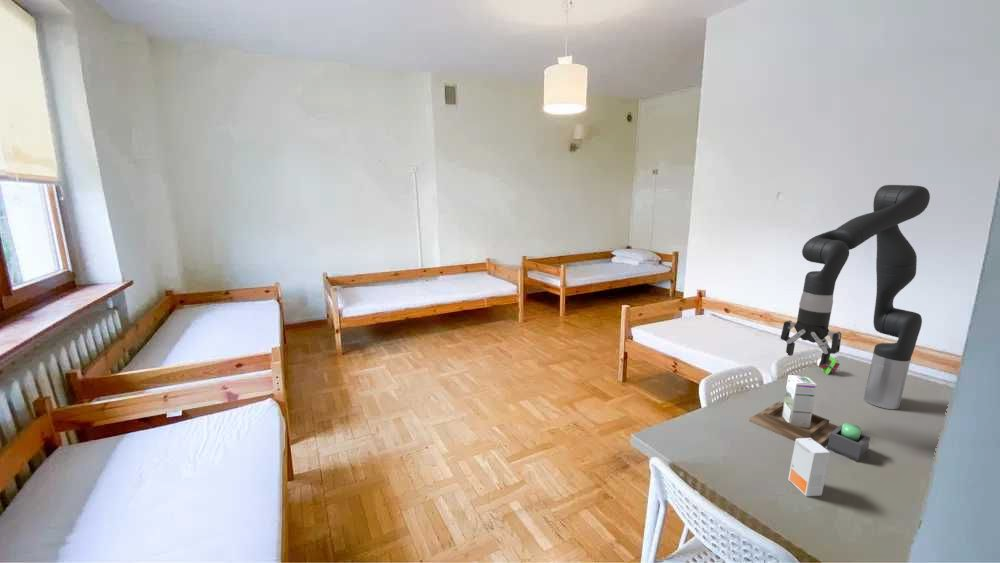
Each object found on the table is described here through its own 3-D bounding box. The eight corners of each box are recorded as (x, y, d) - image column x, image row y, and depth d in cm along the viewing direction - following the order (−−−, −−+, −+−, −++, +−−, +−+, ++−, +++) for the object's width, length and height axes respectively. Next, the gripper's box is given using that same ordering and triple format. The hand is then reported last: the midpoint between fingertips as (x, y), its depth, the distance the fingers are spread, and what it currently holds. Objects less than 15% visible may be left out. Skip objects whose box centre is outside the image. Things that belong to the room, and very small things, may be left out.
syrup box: (810, 428, 128) (818, 384, 124) (788, 426, 129) (796, 382, 125) (801, 418, 133) (808, 376, 130) (780, 416, 134) (787, 374, 131)
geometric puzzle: (836, 364, 171) (827, 349, 170) (848, 372, 164) (838, 356, 163) (820, 374, 172) (810, 358, 171) (831, 381, 165) (820, 365, 164)
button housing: (836, 440, 123) (840, 425, 122) (867, 453, 117) (870, 437, 116) (826, 448, 119) (830, 432, 118) (857, 461, 114) (861, 445, 113)
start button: (843, 431, 120) (845, 421, 119) (861, 437, 117) (863, 428, 116) (838, 435, 118) (840, 425, 117) (856, 442, 115) (858, 432, 114)
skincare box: (787, 480, 107) (794, 437, 104) (802, 479, 107) (810, 437, 104) (806, 497, 101) (814, 453, 98) (822, 496, 101) (831, 452, 98)
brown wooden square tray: (776, 405, 143) (777, 397, 142) (840, 430, 128) (842, 421, 128) (749, 421, 133) (750, 412, 133) (815, 450, 119) (817, 440, 118)
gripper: (850, 311, 119) (839, 365, 122) (793, 300, 130) (785, 349, 134) (839, 316, 115) (829, 371, 118) (782, 303, 126) (774, 354, 130)
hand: (806, 359), depth 126 cm, fingers open, 8 cm apart
